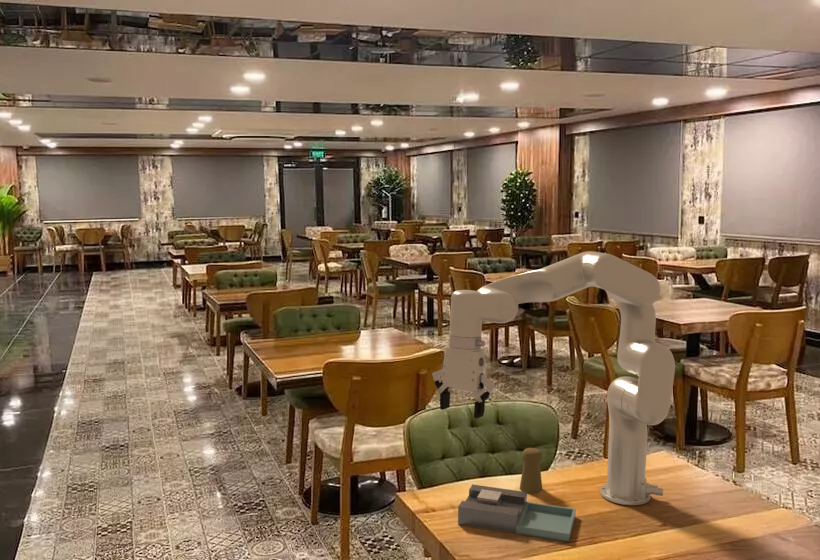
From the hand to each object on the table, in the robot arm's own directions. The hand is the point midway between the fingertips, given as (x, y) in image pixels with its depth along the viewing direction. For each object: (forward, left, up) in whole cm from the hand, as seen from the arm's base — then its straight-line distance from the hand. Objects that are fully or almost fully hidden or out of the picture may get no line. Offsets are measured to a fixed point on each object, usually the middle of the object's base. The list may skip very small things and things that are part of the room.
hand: (461, 412), depth 174 cm
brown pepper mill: (-14, -23, -26) cm, 38 cm away
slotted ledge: (-8, -3, -26) cm, 28 cm away
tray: (-21, -3, -26) cm, 34 cm away
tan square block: (-7, -3, -23) cm, 24 cm away
